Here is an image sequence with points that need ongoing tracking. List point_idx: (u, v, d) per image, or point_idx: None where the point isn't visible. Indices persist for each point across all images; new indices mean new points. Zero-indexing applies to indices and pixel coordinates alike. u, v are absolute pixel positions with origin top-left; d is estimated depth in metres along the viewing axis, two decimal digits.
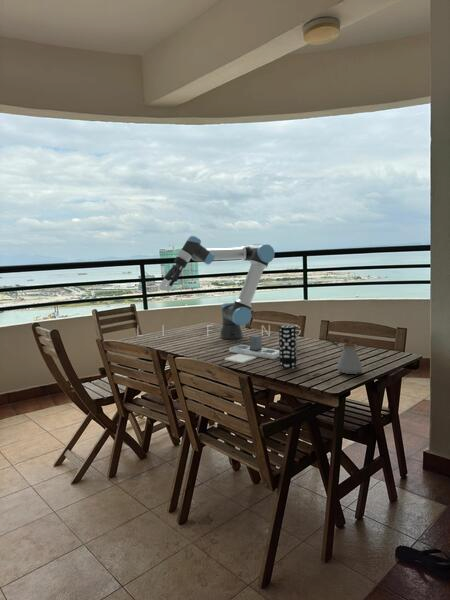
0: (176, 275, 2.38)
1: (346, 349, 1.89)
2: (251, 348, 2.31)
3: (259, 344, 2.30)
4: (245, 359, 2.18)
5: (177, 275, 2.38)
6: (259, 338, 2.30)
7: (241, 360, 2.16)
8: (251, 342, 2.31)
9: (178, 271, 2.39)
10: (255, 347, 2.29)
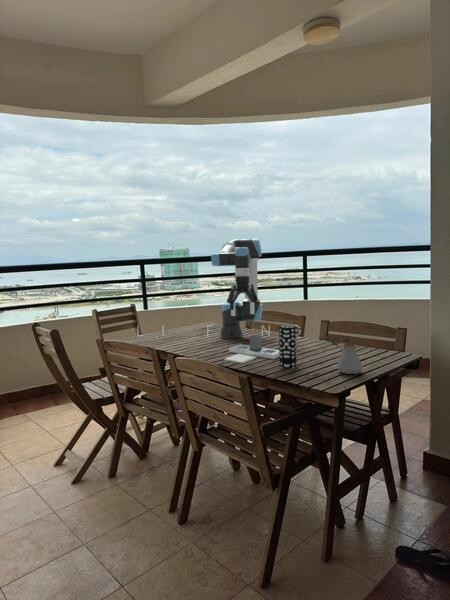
0: None
1: (346, 349, 1.89)
2: (251, 348, 2.31)
3: (259, 344, 2.30)
4: (245, 359, 2.18)
5: None
6: (259, 338, 2.30)
7: (241, 360, 2.16)
8: (251, 342, 2.31)
9: None
10: (255, 348, 2.29)
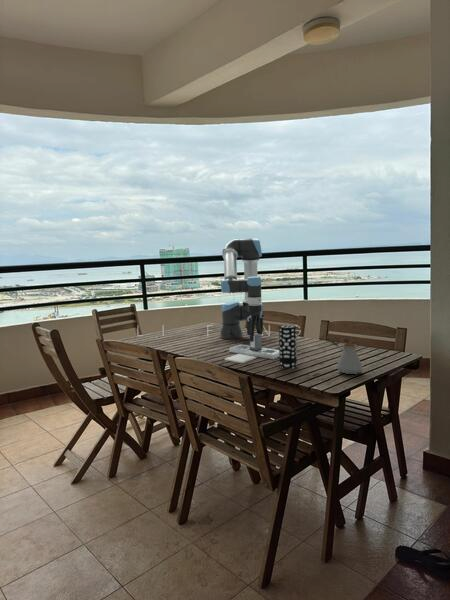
0: None
1: (346, 349, 1.89)
2: (251, 348, 2.31)
3: (259, 344, 2.30)
4: (245, 359, 2.18)
5: None
6: (259, 338, 2.30)
7: (241, 360, 2.16)
8: None
9: None
10: (255, 347, 2.29)
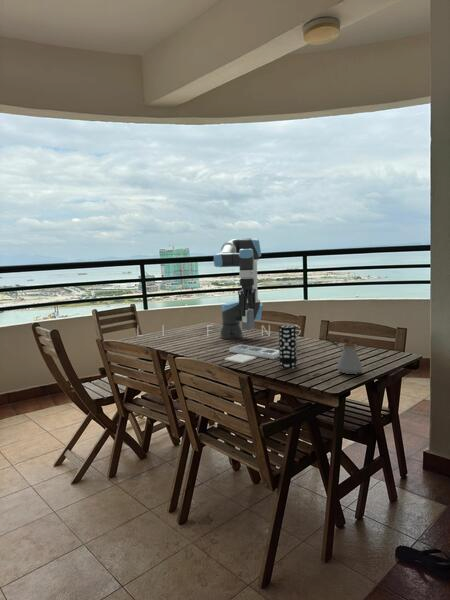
0: None
1: (346, 349, 1.89)
2: (243, 323, 2.24)
3: (251, 319, 2.23)
4: (245, 359, 2.18)
5: None
6: (251, 313, 2.23)
7: (241, 360, 2.16)
8: None
9: None
10: (247, 322, 2.22)
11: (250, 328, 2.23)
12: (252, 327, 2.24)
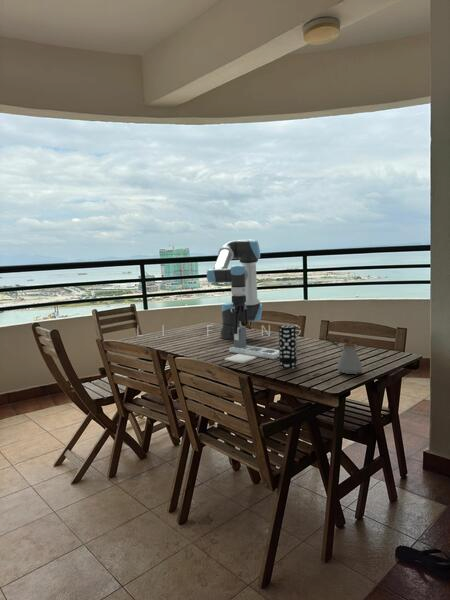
0: None
1: (346, 349, 1.89)
2: (235, 341, 2.19)
3: (243, 336, 2.19)
4: (245, 359, 2.18)
5: None
6: (244, 330, 2.19)
7: (241, 360, 2.16)
8: None
9: None
10: (239, 340, 2.17)
11: (242, 346, 2.18)
12: (244, 345, 2.20)
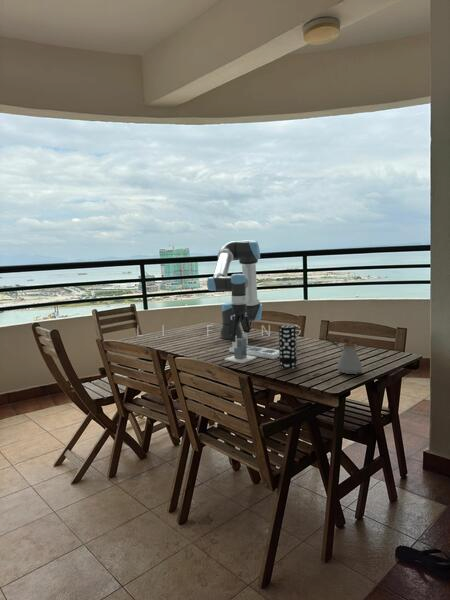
0: None
1: (346, 349, 1.89)
2: (235, 352, 2.20)
3: (244, 348, 2.20)
4: (245, 359, 2.18)
5: None
6: (244, 342, 2.20)
7: (241, 360, 2.16)
8: None
9: None
10: (240, 351, 2.18)
11: (242, 357, 2.19)
12: (244, 356, 2.21)
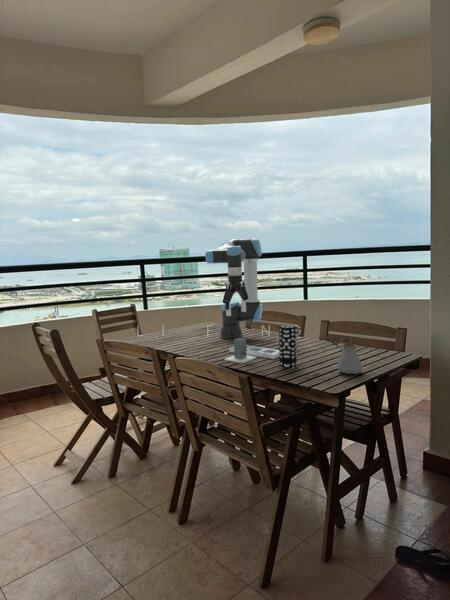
0: None
1: (346, 349, 1.89)
2: (235, 352, 2.20)
3: (244, 348, 2.20)
4: (245, 359, 2.18)
5: None
6: (244, 342, 2.20)
7: (241, 360, 2.16)
8: (235, 345, 2.20)
9: None
10: (240, 351, 2.18)
11: (242, 357, 2.19)
12: (244, 356, 2.21)
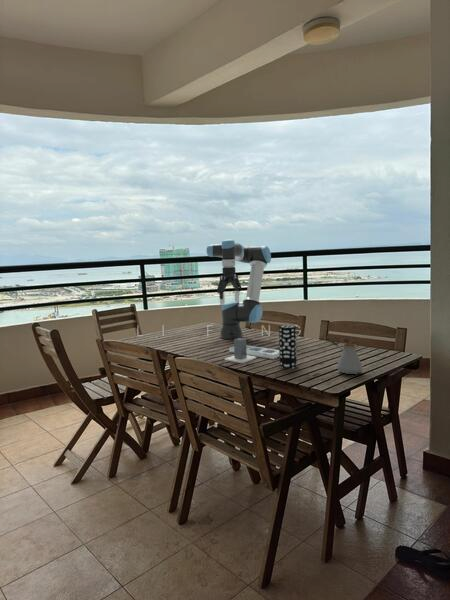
0: None
1: (346, 349, 1.89)
2: (235, 352, 2.20)
3: (244, 348, 2.20)
4: (245, 359, 2.18)
5: None
6: (244, 342, 2.20)
7: (241, 360, 2.16)
8: (235, 345, 2.20)
9: None
10: (240, 351, 2.18)
11: (242, 357, 2.19)
12: (244, 356, 2.21)
